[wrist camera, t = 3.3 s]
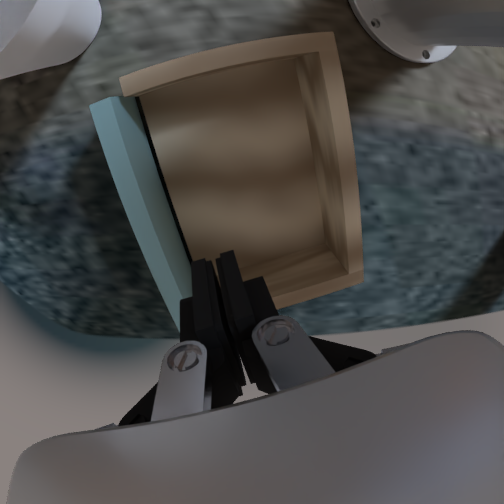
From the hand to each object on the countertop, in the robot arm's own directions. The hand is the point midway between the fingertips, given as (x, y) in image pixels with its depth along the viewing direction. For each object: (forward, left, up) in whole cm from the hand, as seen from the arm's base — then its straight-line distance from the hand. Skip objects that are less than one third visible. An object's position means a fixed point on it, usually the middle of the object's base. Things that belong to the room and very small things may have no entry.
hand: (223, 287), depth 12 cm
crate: (0, +3, -14) cm, 14 cm away
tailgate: (0, -4, -13) cm, 14 cm away
